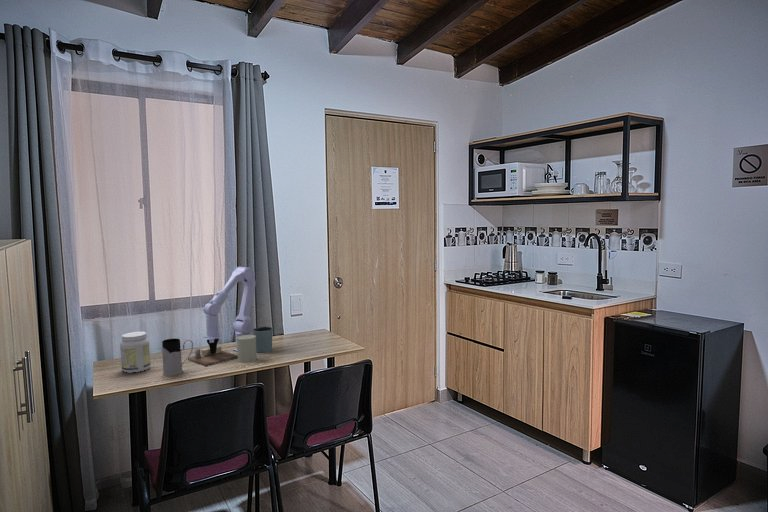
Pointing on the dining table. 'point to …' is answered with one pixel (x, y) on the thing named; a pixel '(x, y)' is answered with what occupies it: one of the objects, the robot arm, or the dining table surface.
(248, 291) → the robot arm
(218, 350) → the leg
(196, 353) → the frame board
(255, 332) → the teal cylindrical container
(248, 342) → the can
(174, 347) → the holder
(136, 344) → the supplement tub
